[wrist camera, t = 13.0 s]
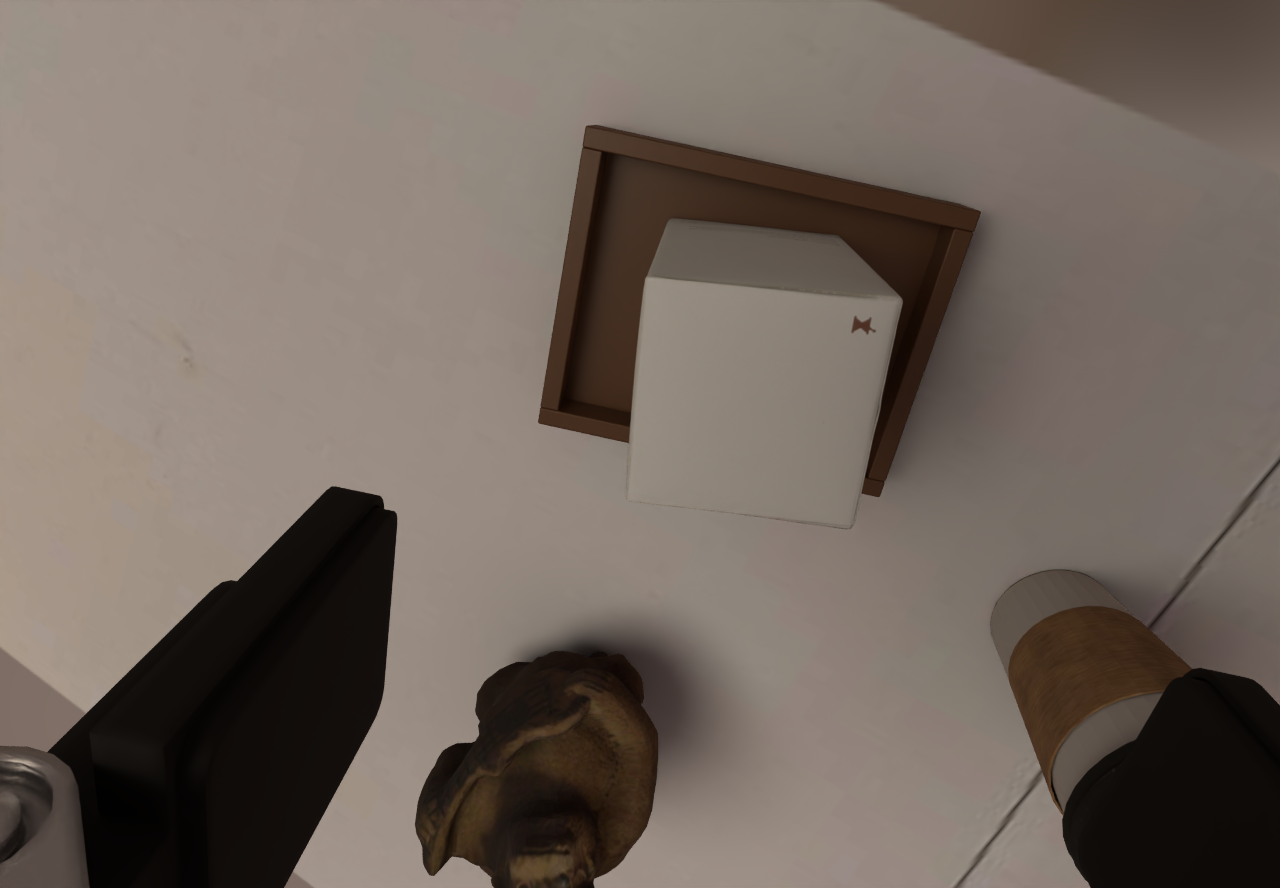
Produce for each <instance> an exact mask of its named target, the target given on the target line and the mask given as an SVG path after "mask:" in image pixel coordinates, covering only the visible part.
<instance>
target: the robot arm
mask: <svg viewBox="0 0 1280 888" xmlns="http://www.w3.org/2000/svg"><path fill="white" fill-rule="evenodd" d="M396 533H397V514H396V513H395V511H390V510H385V509H384V503H383V499H382V498H381V496H378V495H374V494H369V493H364V492H359V491H355V490H350V489H345V488H340V487H330V488H329V489H328V490H326V491H325V492H324V493H323V494H322V495H321V497H320V498H319V499H318V500H317V501H316V502H315V503H314V504H313V505H312V506H311V507H310V508H309V509H308V510H307V511H306V512H305V513H304V514H303V515H302V516H301V517H300V518H299V519H298V520H297V521H296V522H295V523H294V524H293V525H292V526H291V527H290V528H289V529H288V530H287V531H286V532H285V533H284V534H283V535H282V536H281V537H280V538H279V539H278V540H277V541H276V542H275V543H274V544H273V545H272V546H271V547H270V548H269V549H268V551H267V552H266V553H265V554H264V555H263V556H262V557H261V558H260V559H259V560H258V561H257V562H256V563H255V564H254V565H253V566H252V567H251V568H250V569H249V570H248V571H247V572H246V573H245V574H244V575H243V576H242V577H241V578H240V579H239V580H238V581H233V580H230V581H226V582H222V583H221V584H219V585H218V586H217V587H215V588H214V589H213V590H211V591H210V592H209V593H208V594H207V595H206V596H205V597H204V598H203V599H202V600H201V601H200V602H199V603H198V604H197V605H196V606H195V607H194V608H193V609H192V610H191V611H190V612H189V613H188V614H187V615H186V616H185V617H184V618H183V619H182V620H181V621H180V622H179V623H178V624H177V625H176V626H175V627H174V628H173V629H172V630H171V631H170V632H169V633H168V634H167V635H166V636H165V637H164V638H163V639H162V640H161V641H160V642H159V643H158V644H157V645H156V646H154V647H153V648H152V649H151V650H150V651H149V652H148V653H147V654H146V655H145V656H144V657H143V658H142V659H141V660H140V661H139V662H138V663H137V664H136V665H135V666H134V667H133V668H132V669H131V670H130V671H129V672H128V673H127V674H126V675H125V676H124V677H123V678H122V679H121V680H120V681H119V682H118V683H117V684H116V685H115V686H114V687H113V688H112V689H111V690H110V691H109V692H108V693H107V694H106V695H105V696H104V697H103V698H102V699H101V700H100V701H99V702H98V703H97V704H96V705H95V706H94V707H93V708H91V709H90V710H89V711H88V712H87V713H86V714H85V715H84V717H82V718H81V719H80V720H79V721H78V722H77V723H76V724H75V725H74V726H73V727H72V728H71V729H70V730H69V731H68V732H67V733H66V734H65V735H64V736H63V737H62V738H61V739H60V740H59V741H58V742H57V743H56V744H55V745H54V746H53V747H52V748H51V749H50V750H49V751H48V752H44V751H40V750H37V749H33V748H30V747H19V746H0V888H284V887H285V885H286V883H287V881H288V879H289V877H290V876H291V874H292V872H293V870H294V868H295V866H296V864H297V863H298V861H299V859H300V857H301V855H302V853H303V851H304V850H305V848H306V846H307V844H308V842H309V840H310V838H311V837H312V835H313V833H314V831H315V829H316V827H317V826H318V824H319V822H320V820H321V818H322V816H323V814H324V813H325V811H326V809H327V807H328V805H329V803H330V801H331V800H332V798H333V796H334V794H335V792H336V790H337V789H338V787H339V785H340V783H341V781H342V779H343V777H344V776H345V774H346V772H347V770H348V768H349V766H350V764H351V763H352V761H353V759H354V757H355V755H356V753H357V751H358V750H359V748H360V746H361V744H362V742H363V740H364V739H365V737H366V735H367V733H368V731H369V729H370V727H371V726H372V724H373V722H374V720H375V718H376V716H377V713H378V710H379V707H380V704H381V701H382V696H383V691H384V682H385V670H386V657H387V645H388V632H389V620H390V607H391V595H392V582H393V570H394V558H395V545H396ZM1078 858H1079V863H1080V866H1081V868H1082V871H1083V873H1084V875H1085V877H1086V879H1087V881H1088V883H1089V885H1090V887H1091V888H1280V705H1279V704H1278V703H1277V702H1276V701H1275V700H1274V699H1273V698H1272V697H1271V696H1270V695H1269V694H1268V692H1267V691H1266V690H1265V689H1264V688H1263V687H1262V686H1261V685H1259V684H1258V683H1257V682H1255V681H1254V680H1252V679H1249V678H1245V677H1241V676H1236V675H1231V674H1227V673H1222V672H1217V671H1212V670H1207V669H1203V668H1198V669H1192V670H1190V671H1189V672H1187V673H1185V675H1184V676H1183V677H1177V678H1175V679H1174V680H1172V681H1171V682H1170V683H1169V684H1168V686H1167V687H1166V689H1165V691H1164V692H1163V694H1162V696H1161V697H1160V699H1159V701H1158V703H1157V704H1156V706H1155V708H1154V709H1153V711H1152V713H1151V715H1150V716H1149V718H1148V720H1147V721H1146V723H1145V725H1144V726H1143V728H1142V730H1141V732H1140V733H1139V735H1138V737H1137V738H1136V740H1135V742H1134V744H1133V745H1132V747H1131V749H1130V750H1129V752H1128V754H1127V756H1126V757H1125V759H1124V761H1123V762H1122V764H1121V766H1120V767H1119V769H1118V771H1117V773H1116V774H1115V776H1114V778H1113V779H1112V781H1111V783H1110V785H1109V786H1108V788H1107V790H1106V791H1105V793H1104V795H1103V797H1102V798H1101V800H1100V802H1099V803H1098V805H1097V807H1096V808H1095V810H1094V812H1093V814H1092V815H1091V817H1090V819H1089V820H1088V822H1087V824H1086V826H1085V827H1084V829H1083V831H1082V832H1081V835H1080V837H1079V842H1078Z"/></svg>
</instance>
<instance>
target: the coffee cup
mask: <svg viewBox="0 0 1280 888" xmlns="http://www.w3.org/2000/svg"><path fill="white" fill-rule="evenodd" d="M990 626H991V635H992V638H993V641H994V644H995V647H996V649H997V652H998V654H999V657H1000V659H1001V661H1002V664H1003V666H1004V669H1005V671H1006V674H1007V676H1008V678H1009V682H1010V685H1011V688H1012V691H1013V693H1014V696H1015V699H1016V702H1017V704H1018V707H1019V710H1020V712H1021V715H1022V718H1023V720H1024V723H1025V726H1026V729H1027V731H1028V734H1029V737H1030V739H1031V742H1032V745H1033V748H1034V750H1035V753H1036V756H1037V758H1038V761H1039V764H1040V766H1041V769H1042V772H1043V775H1044V777H1045V780H1046V783H1047V785H1048V788H1049V791H1050V793H1051V796H1052V799H1053V801H1054V803H1055V804H1056V806H1057V808H1058V809H1059V811H1060V812H1061V814H1063V819H1062V823H1063V838H1064V841H1065V844H1066V847H1067V850H1068V852H1069V854H1070V855H1071V857H1072V858H1073V860H1074V863H1075V866H1076V867H1077V869H1078V870H1079V872H1080V873H1081V875H1082V876H1083V877H1084V879H1085V880H1086V881H1087V879H1086V877H1085V875H1084V873H1083V871H1082V868H1081V866H1080V863H1079V858H1078V842H1079V837H1080V835H1081V832H1082V831H1083V829H1084V827H1085V826H1086V824H1087V822H1088V820H1089V819H1090V817H1091V815H1092V814H1093V812H1094V810H1095V808H1096V807H1097V805H1098V803H1099V802H1100V800H1101V798H1102V797H1103V795H1104V793H1105V791H1106V790H1107V788H1108V786H1109V785H1110V783H1111V781H1112V779H1113V778H1114V776H1115V774H1116V773H1117V771H1118V769H1119V767H1120V766H1121V764H1122V762H1123V761H1124V759H1125V757H1126V756H1127V754H1128V752H1129V750H1130V749H1131V747H1132V745H1133V744H1134V742H1135V740H1136V738H1137V737H1138V735H1139V733H1140V732H1141V730H1142V728H1143V726H1144V725H1145V723H1146V721H1147V720H1148V718H1149V716H1150V715H1151V713H1152V711H1153V709H1154V708H1155V706H1156V704H1157V703H1158V701H1159V699H1160V697H1161V696H1162V694H1163V692H1164V691H1165V689H1166V687H1167V686H1168V684H1169V683H1170V682H1171V681H1172V680H1174V679H1175V678H1177V677H1183V676H1184V675H1185V673H1187V672H1189V671H1190V670H1192V668H1191V667H1190V666H1189V665H1188V664H1186V663H1185V662H1184V661H1183V660H1182V659H1181V658H1180V657H1179V656H1178V655H1177V654H1175V653H1174V652H1173V651H1172V650H1171V649H1170V648H1169V647H1168V646H1167V645H1166V644H1164V643H1163V642H1162V641H1161V640H1160V639H1159V638H1158V637H1157V636H1156V635H1155V634H1153V633H1152V632H1151V631H1150V630H1149V629H1148V628H1147V627H1146V626H1145V625H1144V624H1142V623H1141V622H1140V621H1139V620H1137V619H1136V618H1135V617H1134V616H1133V615H1132V614H1131V613H1129V612H1128V611H1127V610H1126V609H1125V608H1124V607H1123V606H1122V605H1121V604H1120V603H1119V602H1118V601H1117V600H1116V599H1115V598H1114V597H1113V596H1112V595H1111V594H1110V593H1109V592H1108V591H1107V590H1106V589H1105V588H1104V587H1103V586H1102V585H1100V584H1099V583H1098V582H1096V581H1095V580H1093V579H1092V578H1090V577H1088V576H1086V575H1083V574H1081V573H1077V572H1072V571H1067V570H1052V571H1045V572H1040V573H1037V574H1034V575H1031V576H1028V577H1026V578H1024V579H1022V580H1020V581H1019V582H1017V583H1016V584H1014V585H1013V586H1011V587H1010V588H1009V589H1008V590H1007V591H1006V592H1005V593H1004V594H1003V595H1002V596H1001V598H1000V599H999V601H998V602H997V604H996V606H995V608H994V610H993V613H992V617H991V623H990ZM1087 882H1088V881H1087Z"/></svg>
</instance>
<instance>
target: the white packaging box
mask: <svg viewBox="0 0 1280 888" xmlns="http://www.w3.org/2000/svg"><path fill="white" fill-rule="evenodd" d="M902 304H903V300H902V298H901V297H900V296H899V295H898V294H897V293H896V292H895V291H894V290H893V289H892V288H891V287H890V286H889V285H888V284H887V283H886V282H885V281H884V280H883V279H882V278H881V277H880V276H879V275H878V274H877V273H876V272H875V271H874V270H873V269H872V268H871V267H870V266H869V265H868V264H867V263H866V262H865V261H864V260H863V259H862V258H861V257H860V256H859V255H858V254H857V253H856V252H855V251H854V250H853V249H852V248H850V247H849V246H848V244H847V243H846V242H845V241H843V240H842V239H841V238H840V236H838V235H831V234H821V233H811V232H802V231H793V230H784V229H775V228H766V227H757V226H747V225H738V224H728V223H719V222H709V221H700V220H689V219H678V218H672V219H670V220H669V221H668V223H667V225H666V228H665V230H664V233H663V236H662V238H661V241H660V243H659V246H658V249H657V252H656V254H655V257H654V260H653V262H652V265H651V267H650V270H649V272H648V275H647V277H646V278H645V284H644V290H643V298H642V306H641V315H640V324H639V333H638V342H637V352H636V362H635V372H634V385H633V397H632V410H631V423H630V436H629V450H628V465H627V483H626V500H628V501H629V502H640V503H648V504H656V505H665V506H674V507H682V508H691V509H700V510H708V511H717V512H726V513H735V514H742V515H749V516H756V517H763V518H770V519H777V520H784V521H791V522H798V523H805V524H813V525H820V526H827V527H834V528H841V529H850V528H852V526H853V525H854V523H855V520H856V516H857V511H858V507H859V503H860V498H861V493H862V487H863V483H864V478H865V473H866V469H867V464H868V459H869V455H870V450H871V445H872V440H873V436H874V432H875V428H876V424H877V421H878V417H879V413H880V408H881V399H882V393H883V389H884V385H885V380H886V375H887V370H888V365H889V361H890V356H891V352H892V348H893V343H894V339H895V334H896V329H897V324H898V320H899V316H900V312H901V308H902Z"/></svg>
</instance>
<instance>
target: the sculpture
mask: <svg viewBox="0 0 1280 888" xmlns="http://www.w3.org/2000/svg"><path fill="white" fill-rule="evenodd" d="M643 699H644V694H643V682H642V679H641V676H640V675H639V673H638V672H637V670H636V669H635V668H634V667H633V666H632V665H631V664H630V663H629V662H628V660H627V659H626V658H625V657H624V656H623V655H621V654H614V655H607V654H606V653H605V652H597V653H594V654H593V655H592V656H591V657H590V658H588V657H585V656H582V655H579V654H576V653H571V652H565V651H555V652H551V653H549V654H548V655H546V656H544V657H538V658H537V659H535V660H534V661H533V662H516V663H513V664H511V665H508V666H506V667H504V668H502V669H500V670H498V671H497V672H496V673H495V674H493V675H492V676H491V677H489V678H488V679H487V680H486V681H485V682H484V683H483V685H482V687H481V688H480V690H479V692H478V693H477V702H476V709H475V712H476V715H477V717H478V719H479V720H480V723H479V725H478V727H479V736H478V738H477V740H476V741H475V742H473V743H457V744H454V745H452V746H450V747H448V748H447V749H445V750H444V751H442V753H441V755H440V756H439V758H438V759H437V762H436V764H435V766H434V768H433V769H432V770H431V772H430V774H429V776H428V778H427V779H426V782H425V784H424V786H423V789H422V791H421V794H420V797H419V800H418V805H417V813H416V821H415V827H416V834H417V836H418V838H419V840H420V842H421V845H422V851H423V864H424V867H425V869H426V870H427V872H428V874H429V875H431V876H434V875H435V874H436V873H437V872H438V871H439V870H440V869H441V868H442V867H443V866H444V865H445V863H446V862H447V861H448V860H449V859H450V858H451V857H452V856H453V857H460V858H464V859H466V860H468V861H469V862H471V863H472V864H475V865H477V866H480V868H481V869H482V870H483V871H485V872H486V873H487V874H488V875H489V876H490V877H492V878H491V883H492V886H493V887H494V888H594V884H593V881H594V878H597V877H599V876H602V875H604V874H606V873H608V872H609V871H611V870H612V869H614V868H615V867H617V866H618V865H619V864H620V863H621V862H622V861H623V859H624V858H625V856H626V855H627V853H628V852H629V850H630V849H631V848H632V846H633V845H634V844H635V843H636V841H637V840H638V839H639V838H640V837H641V835H642V833H643V832H644V830H645V828H646V827H647V824H648V821H649V818H650V815H651V812H652V807H653V799H654V792H655V786H656V779H657V765H658V733H657V730H656V728H655V726H654V724H653V723H652V721H651V719H650V718H649V716H648V714H647V713H646V711H645V710H644V709H643V707H642V706H641V704H642V702H643Z"/></svg>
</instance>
